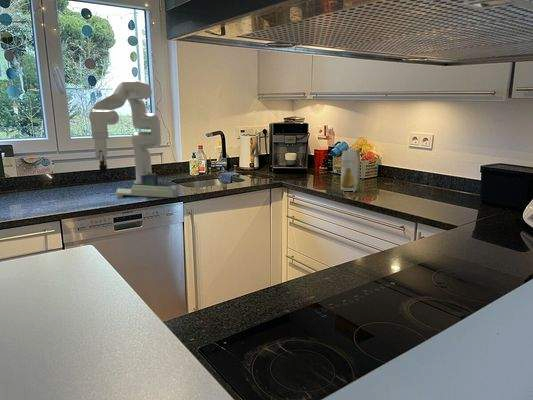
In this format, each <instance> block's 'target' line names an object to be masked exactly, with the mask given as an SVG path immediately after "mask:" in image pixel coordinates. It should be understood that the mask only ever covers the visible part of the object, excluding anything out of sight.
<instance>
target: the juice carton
mask: <svg viewBox="0 0 533 400" xmlns="http://www.w3.org/2000/svg"><path fill="white" fill-rule="evenodd" d="M340 166H341V167H340V168H341V169H340V189H341V190H343V191H342V192H344V191H353V192H352V193H355V191H356V192H358V190H359V187H360V169H361V168H360V167H361V154H360V150H359V149H357V150H354V149H353V148H351V147H349V148H348V149H345V150H344V149H343V151H342V154H341V165H340Z"/></svg>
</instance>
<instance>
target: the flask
mask: <svg viewBox="0 0 533 400" xmlns="http://www.w3.org/2000/svg"><path fill="white" fill-rule="evenodd" d="M140 185H144V186H159V184H158V174H157V173H154V172H152V173H150V171H148V172H147V174H145V175H141V184H140Z"/></svg>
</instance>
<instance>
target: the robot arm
mask: <svg viewBox="0 0 533 400" xmlns="http://www.w3.org/2000/svg"><path fill="white" fill-rule="evenodd" d="M152 93H153V90H152V87H151V85H149V84H148V83H146V82H144V81H141V80H137V79H121V80H119V81H117V82H116V84H115V85H114V87H113V89H112V90H111V92H110V94H109V95H107V96H106V97H104V98H101V99H100V100H99V101H97V102H96V103H94V104H93V105H92V108H91V109H90V112H89V114H88V117H89V118H88V119H89V122H90V130H91V137H92V140H94V151H95V155H94V156H95V159H96V160H98V162H99V163H98V164H99V167H100V168H99V173H100V174H106V173H108V169H109V168H106V164H107V158H108V143H107V140H108V139H109V131H108V130H109V129H108V126H112V125H116V124H117V123H118V122H119V119H120V117H119V116H120V115H119V113H118V112H117V111H116V110H118V109H120V108H123V106H124V105H125V103H126V102H128V103H129V105H130V108H131V120H132V126H133V128H134V129H136V130H150V131H135V132H134V133H132V134H131V143H132V147H133V154H134V165H135V179H136V180H134V181H133V184H134V185H141V175H145V174H147V172H148V171H150V173H153V172H152V158H151V157H152V156H151V152H150V150H149V149H148V148H158V147H160V146H161V144H162V133H161V123H160V118H159V116H158V114H156V113H147V112H148V111H147V107H146V103H145V101H144V100H147V99H150V98H151V97H152Z"/></svg>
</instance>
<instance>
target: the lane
mask: <svg viewBox="0 0 533 400" xmlns="http://www.w3.org/2000/svg"><path fill="white" fill-rule="evenodd" d="M115 194H116V196H117V198H118V199H119V198H124V196H139V197H154V198H155V197H156V198H157V197H159V198H178V193H177V188H176V185H175V184H174V185H173V184H171V185H170V186H162V185H161V186H159V185H158V186H144V185H141V184H131V188H119V187H118V188H117V190H116V193H115Z"/></svg>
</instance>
